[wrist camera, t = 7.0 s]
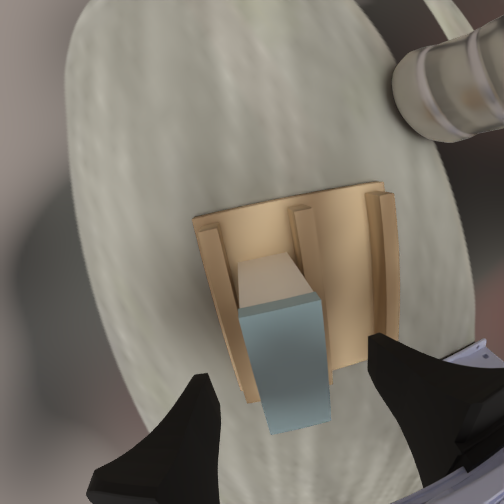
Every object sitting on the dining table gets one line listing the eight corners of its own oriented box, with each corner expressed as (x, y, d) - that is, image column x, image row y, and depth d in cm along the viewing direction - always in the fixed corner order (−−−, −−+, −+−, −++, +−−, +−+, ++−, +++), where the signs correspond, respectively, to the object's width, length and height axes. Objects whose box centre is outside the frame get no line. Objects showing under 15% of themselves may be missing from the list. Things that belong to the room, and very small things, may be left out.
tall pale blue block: (287, 250, 17) (321, 299, 10) (303, 347, 19) (331, 420, 12) (236, 261, 17) (238, 318, 10) (259, 357, 19) (270, 434, 12)
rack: (376, 181, 17) (399, 183, 15) (385, 345, 21) (401, 365, 18) (194, 217, 17) (186, 225, 14) (240, 382, 21) (241, 409, 18)
